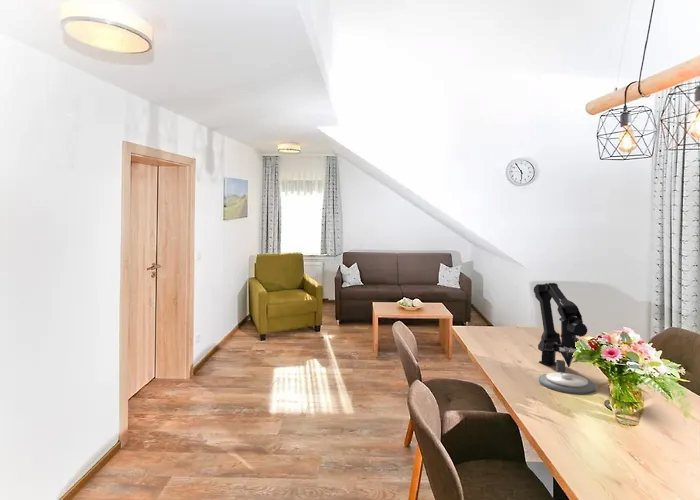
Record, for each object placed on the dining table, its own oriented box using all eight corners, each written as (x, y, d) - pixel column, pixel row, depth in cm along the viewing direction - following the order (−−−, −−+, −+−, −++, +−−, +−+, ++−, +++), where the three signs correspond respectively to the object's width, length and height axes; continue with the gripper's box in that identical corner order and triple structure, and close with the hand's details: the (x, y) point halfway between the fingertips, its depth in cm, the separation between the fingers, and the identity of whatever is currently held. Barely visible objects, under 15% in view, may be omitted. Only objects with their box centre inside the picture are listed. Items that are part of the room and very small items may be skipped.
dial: (593, 388, 177) (593, 374, 177) (551, 385, 180) (551, 371, 180) (578, 373, 196) (578, 361, 196) (540, 371, 200) (541, 358, 199)
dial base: (558, 373, 202) (558, 370, 202) (606, 388, 183) (606, 384, 183) (527, 381, 190) (528, 377, 190) (576, 397, 172) (576, 393, 171)
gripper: (596, 331, 194) (596, 366, 195) (552, 327, 207) (552, 359, 207) (589, 335, 186) (590, 372, 186) (544, 330, 199) (544, 364, 199)
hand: (568, 366), depth 195 cm, fingers closed
